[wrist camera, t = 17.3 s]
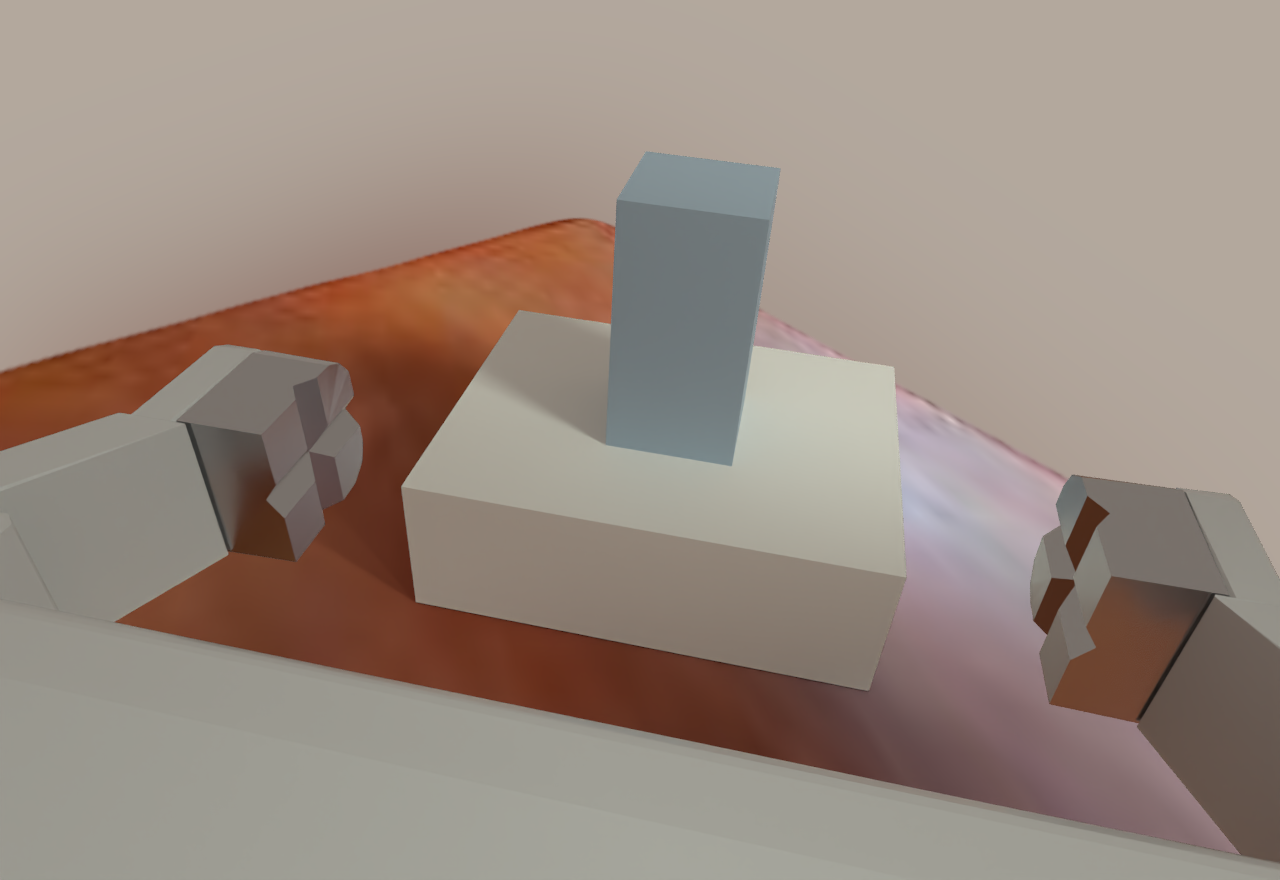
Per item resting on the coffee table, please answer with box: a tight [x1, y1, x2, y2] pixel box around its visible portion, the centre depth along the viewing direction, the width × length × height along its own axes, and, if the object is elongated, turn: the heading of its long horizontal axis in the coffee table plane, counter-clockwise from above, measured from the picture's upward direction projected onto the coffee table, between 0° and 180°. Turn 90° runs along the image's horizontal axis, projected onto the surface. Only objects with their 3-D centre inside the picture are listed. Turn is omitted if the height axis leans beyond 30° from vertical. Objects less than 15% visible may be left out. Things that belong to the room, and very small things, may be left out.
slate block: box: [606, 152, 780, 466], centre depth 34 cm, size 5×5×10 cm
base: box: [401, 310, 906, 691], centre depth 39 cm, size 18×14×6 cm
